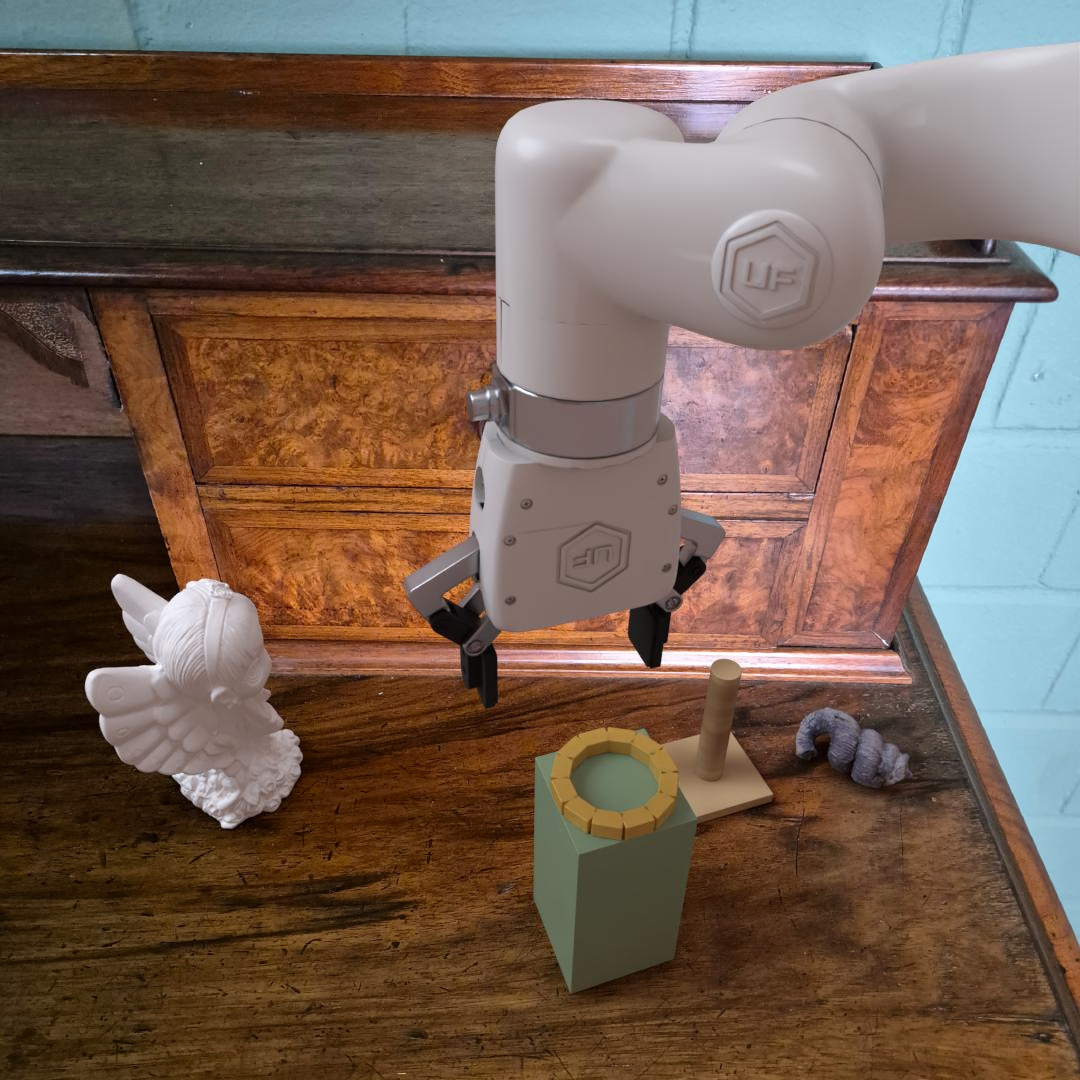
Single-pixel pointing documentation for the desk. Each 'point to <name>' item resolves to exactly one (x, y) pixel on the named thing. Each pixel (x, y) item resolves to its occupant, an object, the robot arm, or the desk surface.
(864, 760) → the seashell
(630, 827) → the ring
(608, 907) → the stand
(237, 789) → the cherub figurine
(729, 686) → the post
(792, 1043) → the desk surface
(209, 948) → the desk surface
